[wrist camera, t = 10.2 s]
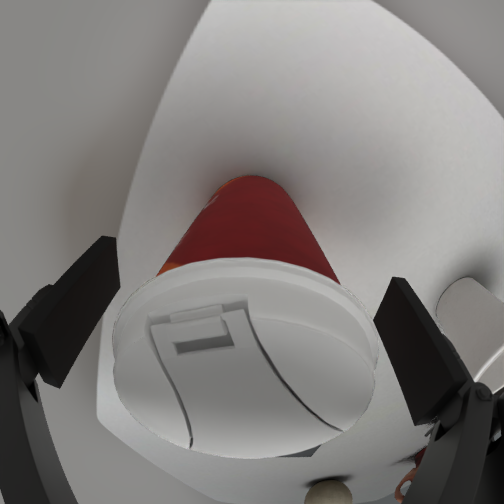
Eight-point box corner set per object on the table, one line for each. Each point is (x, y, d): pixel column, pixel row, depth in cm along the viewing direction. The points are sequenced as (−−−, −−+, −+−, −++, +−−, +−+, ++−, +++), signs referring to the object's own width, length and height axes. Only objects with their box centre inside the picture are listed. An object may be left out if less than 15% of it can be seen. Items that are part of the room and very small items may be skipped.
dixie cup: (496, 280, 23) (547, 338, 14) (453, 337, 26) (490, 401, 17) (460, 252, 21) (525, 320, 12) (410, 321, 25) (451, 400, 16)
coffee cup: (176, 177, 19) (41, 325, 6) (295, 144, 18) (401, 248, 5) (215, 279, 23) (178, 467, 9) (319, 255, 22) (381, 442, 8)
